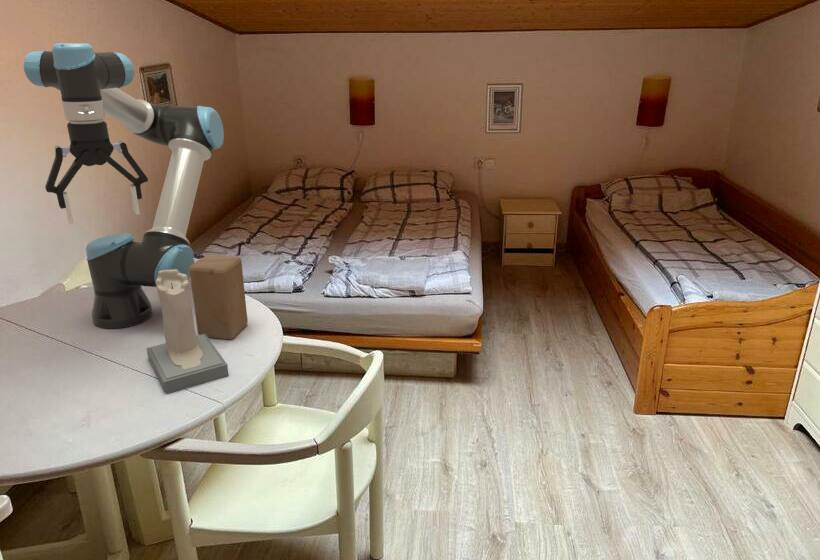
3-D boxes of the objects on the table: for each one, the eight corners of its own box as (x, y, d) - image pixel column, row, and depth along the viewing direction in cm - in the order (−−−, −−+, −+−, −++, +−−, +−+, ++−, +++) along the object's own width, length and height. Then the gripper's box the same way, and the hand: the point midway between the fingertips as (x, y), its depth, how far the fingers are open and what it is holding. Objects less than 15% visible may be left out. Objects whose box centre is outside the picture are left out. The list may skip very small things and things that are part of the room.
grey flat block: (148, 358, 143) (146, 347, 142) (206, 343, 150) (204, 332, 149) (165, 393, 129) (163, 381, 128) (228, 375, 136) (227, 363, 135)
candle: (176, 372, 131) (163, 290, 124) (164, 346, 142) (151, 269, 134) (209, 364, 135) (198, 284, 127) (194, 339, 146) (184, 264, 138)
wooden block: (232, 341, 152) (223, 269, 144) (196, 337, 153) (186, 266, 146) (249, 324, 161) (242, 256, 153) (215, 320, 163) (207, 252, 155)
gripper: (18, 127, 115) (42, 230, 123) (152, 119, 128) (166, 213, 136) (16, 122, 121) (40, 221, 129) (145, 115, 134) (159, 206, 142)
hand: (104, 217), depth 133 cm, fingers open, 13 cm apart
